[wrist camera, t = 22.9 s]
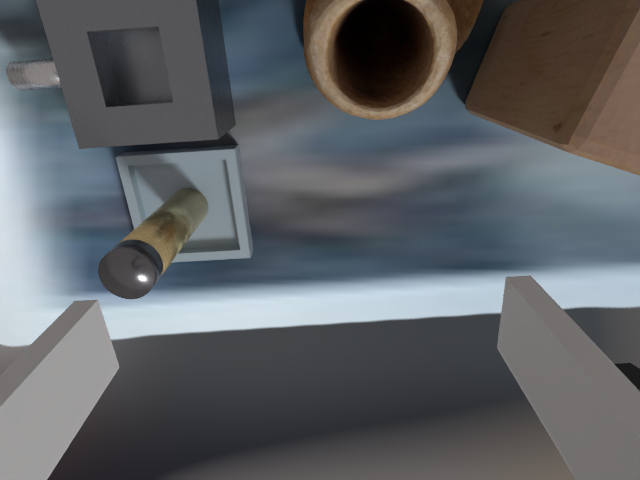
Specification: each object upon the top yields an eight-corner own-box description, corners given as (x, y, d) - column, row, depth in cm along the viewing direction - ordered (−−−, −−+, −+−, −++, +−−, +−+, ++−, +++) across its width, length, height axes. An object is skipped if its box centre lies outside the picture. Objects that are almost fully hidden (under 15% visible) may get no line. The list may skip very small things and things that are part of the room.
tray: (124, 152, 44) (115, 156, 42) (238, 144, 44) (234, 149, 42) (150, 255, 49) (143, 263, 47) (253, 249, 49) (250, 257, 47)
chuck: (22, 4, 39) (-47, -7, 32) (216, -11, 39) (191, -26, 31) (62, 136, 44) (10, 153, 37) (235, 124, 43) (218, 139, 36)
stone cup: (293, 89, 42) (280, 106, 28) (314, -52, 37) (310, -114, 24) (441, 117, 43) (498, 146, 29) (479, -18, 38) (568, -57, 25)
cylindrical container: (167, 189, 45) (91, 252, 30) (204, 186, 45) (146, 248, 30) (175, 224, 47) (106, 300, 32) (211, 221, 46) (159, 297, 32)
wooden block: (458, 109, 43) (561, 151, 24) (503, 0, 39) (666, -48, 21) (547, 138, 44) (711, 198, 25) (600, 35, 40) (837, 19, 22)
